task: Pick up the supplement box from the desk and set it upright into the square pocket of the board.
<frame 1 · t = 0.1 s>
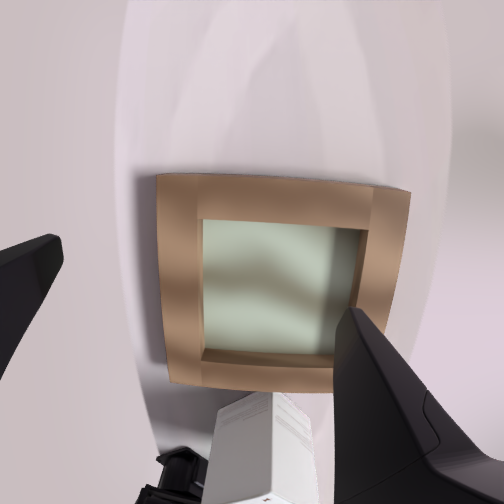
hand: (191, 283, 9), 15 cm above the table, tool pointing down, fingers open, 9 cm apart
pocket board: (277, 289, 25), on the table
supplement box: (264, 414, 30), on the table
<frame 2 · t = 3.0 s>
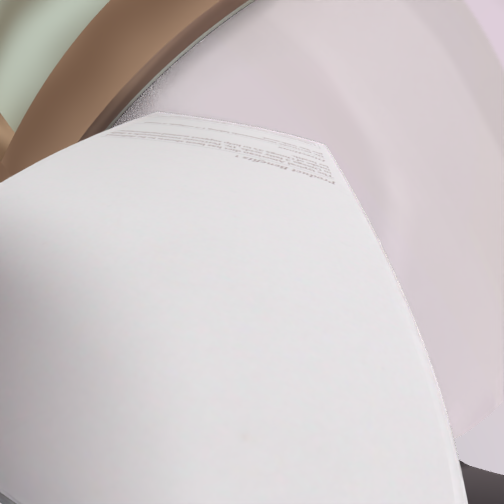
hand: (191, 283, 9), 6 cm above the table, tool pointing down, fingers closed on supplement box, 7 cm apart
supplement box: (226, 203, 14), on the table, touching gripper
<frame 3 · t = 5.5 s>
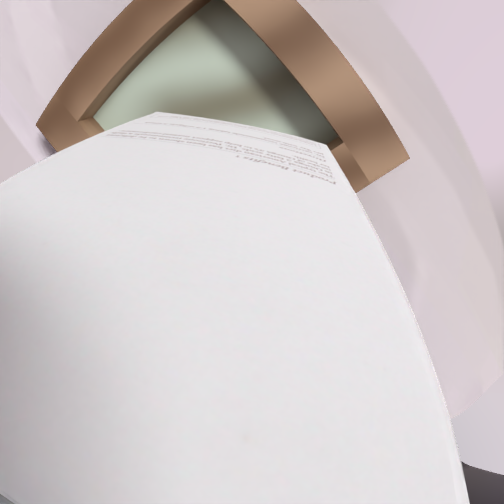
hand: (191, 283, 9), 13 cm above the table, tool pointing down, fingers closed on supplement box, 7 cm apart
pocket board: (206, 117, 19), on the table
supplement box: (227, 203, 14), point 8 cm above the table, touching gripper
when the fingers open (7 cm above the table, at t = 8.1 s): supplement box drops 1 cm, resting on pocket board.
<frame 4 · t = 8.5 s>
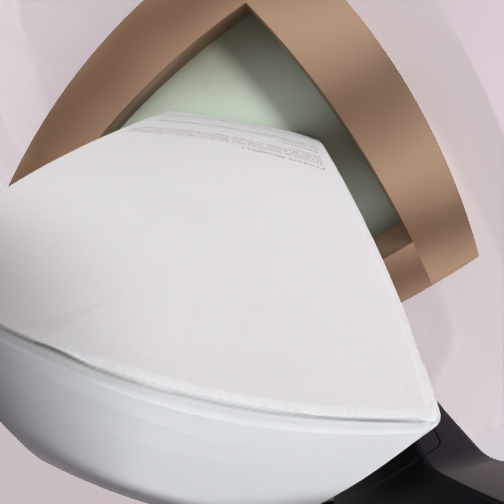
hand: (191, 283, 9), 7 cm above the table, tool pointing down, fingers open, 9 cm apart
pocket board: (232, 189, 15), on the table
supplement box: (231, 194, 15), resting on pocket board
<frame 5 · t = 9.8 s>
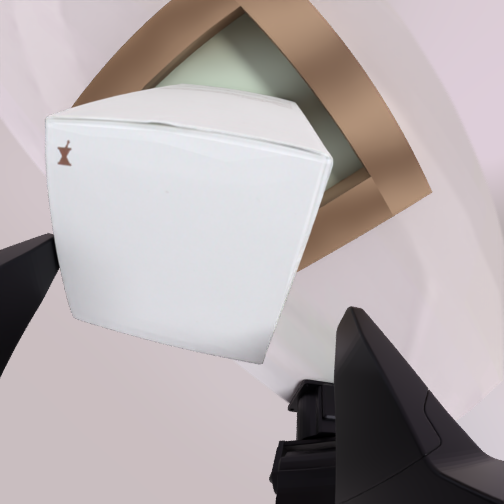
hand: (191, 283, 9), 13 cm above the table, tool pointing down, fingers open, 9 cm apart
pocket board: (230, 142, 19), on the table
supplement box: (229, 145, 19), resting on pocket board, touching gripper
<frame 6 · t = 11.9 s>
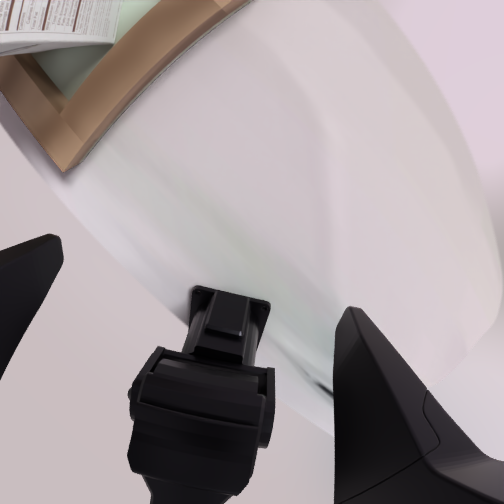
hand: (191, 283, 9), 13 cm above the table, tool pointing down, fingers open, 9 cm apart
pocket board: (87, 2, 14), on the table
supplement box: (85, 3, 14), resting on pocket board
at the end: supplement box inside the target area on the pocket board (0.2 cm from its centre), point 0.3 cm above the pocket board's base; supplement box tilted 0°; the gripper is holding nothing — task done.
